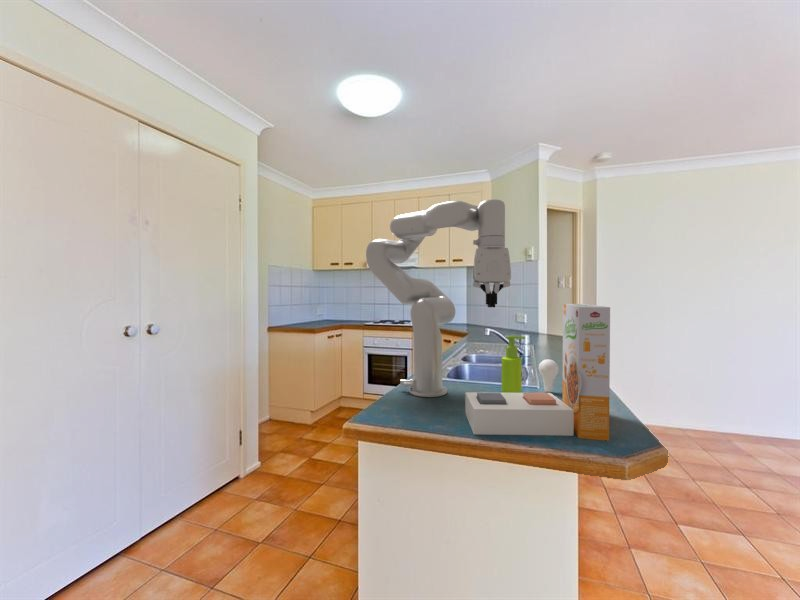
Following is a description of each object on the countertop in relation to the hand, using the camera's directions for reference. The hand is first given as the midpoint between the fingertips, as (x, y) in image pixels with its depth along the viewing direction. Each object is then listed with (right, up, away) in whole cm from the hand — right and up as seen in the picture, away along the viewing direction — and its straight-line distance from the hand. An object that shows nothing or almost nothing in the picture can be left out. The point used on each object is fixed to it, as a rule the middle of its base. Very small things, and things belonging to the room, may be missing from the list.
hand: (491, 307), depth 104 cm
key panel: (+2, -29, -13) cm, 32 cm away
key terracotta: (+8, -26, -14) cm, 31 cm away
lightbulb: (+23, -29, +15) cm, 40 cm away
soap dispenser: (+8, -29, +6) cm, 31 cm away
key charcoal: (-3, -26, -13) cm, 30 cm away
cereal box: (+20, -30, -12) cm, 38 cm away
